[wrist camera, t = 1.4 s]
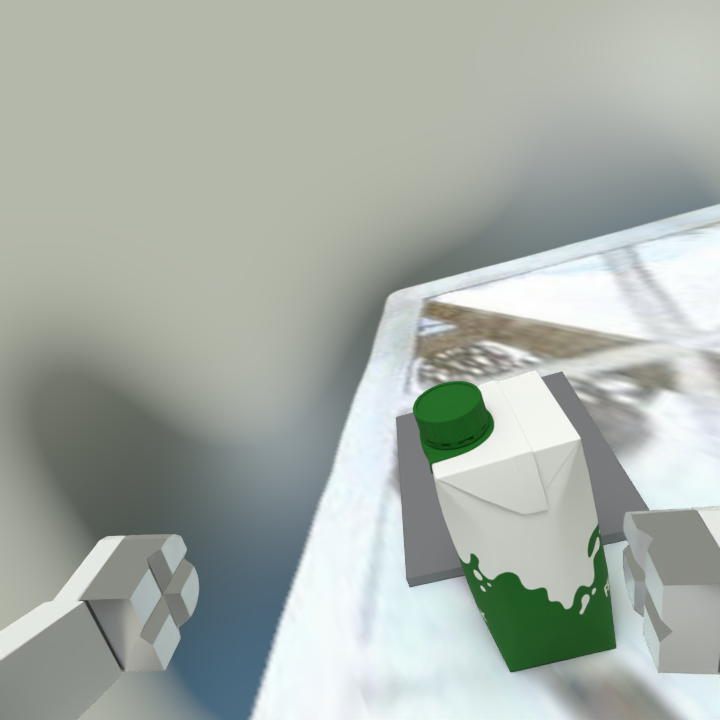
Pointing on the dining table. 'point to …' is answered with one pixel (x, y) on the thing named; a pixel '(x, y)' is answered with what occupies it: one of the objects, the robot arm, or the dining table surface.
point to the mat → (424, 514)
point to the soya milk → (520, 516)
